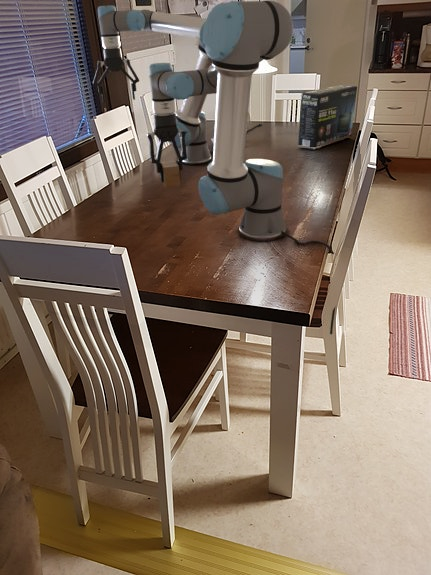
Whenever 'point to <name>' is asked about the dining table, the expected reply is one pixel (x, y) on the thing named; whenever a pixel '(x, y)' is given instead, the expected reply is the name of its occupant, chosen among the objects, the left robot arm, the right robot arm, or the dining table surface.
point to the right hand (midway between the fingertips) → (170, 180)
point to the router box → (326, 115)
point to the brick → (170, 173)
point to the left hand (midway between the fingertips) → (118, 100)
